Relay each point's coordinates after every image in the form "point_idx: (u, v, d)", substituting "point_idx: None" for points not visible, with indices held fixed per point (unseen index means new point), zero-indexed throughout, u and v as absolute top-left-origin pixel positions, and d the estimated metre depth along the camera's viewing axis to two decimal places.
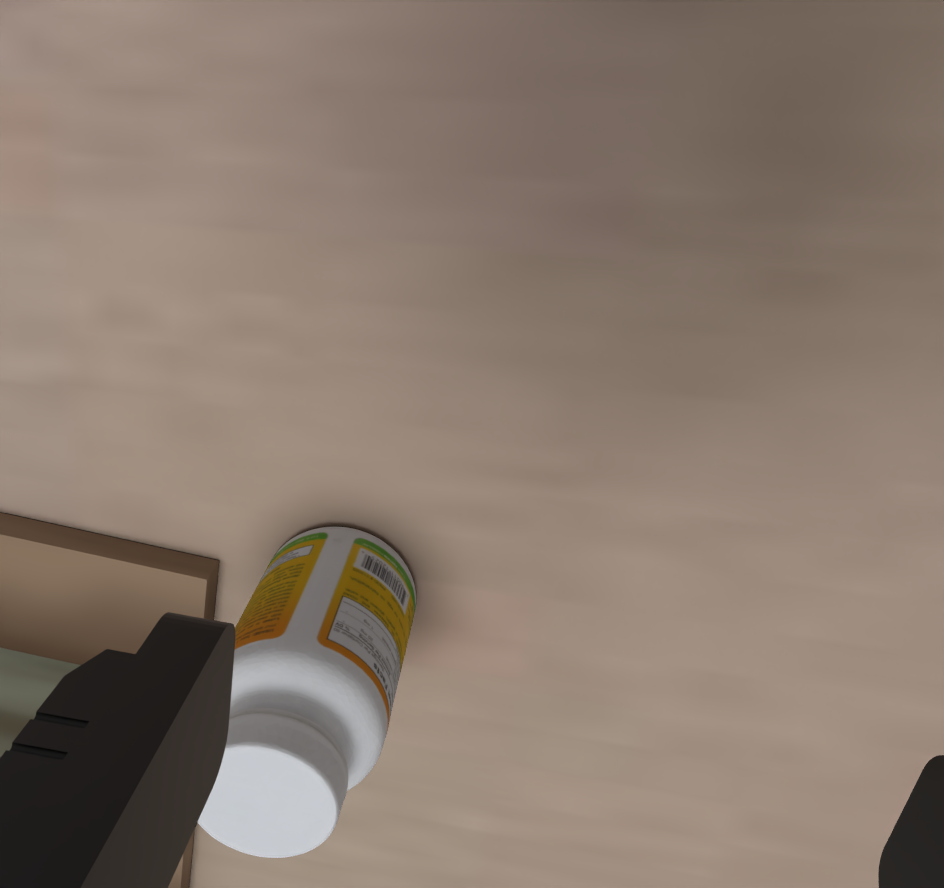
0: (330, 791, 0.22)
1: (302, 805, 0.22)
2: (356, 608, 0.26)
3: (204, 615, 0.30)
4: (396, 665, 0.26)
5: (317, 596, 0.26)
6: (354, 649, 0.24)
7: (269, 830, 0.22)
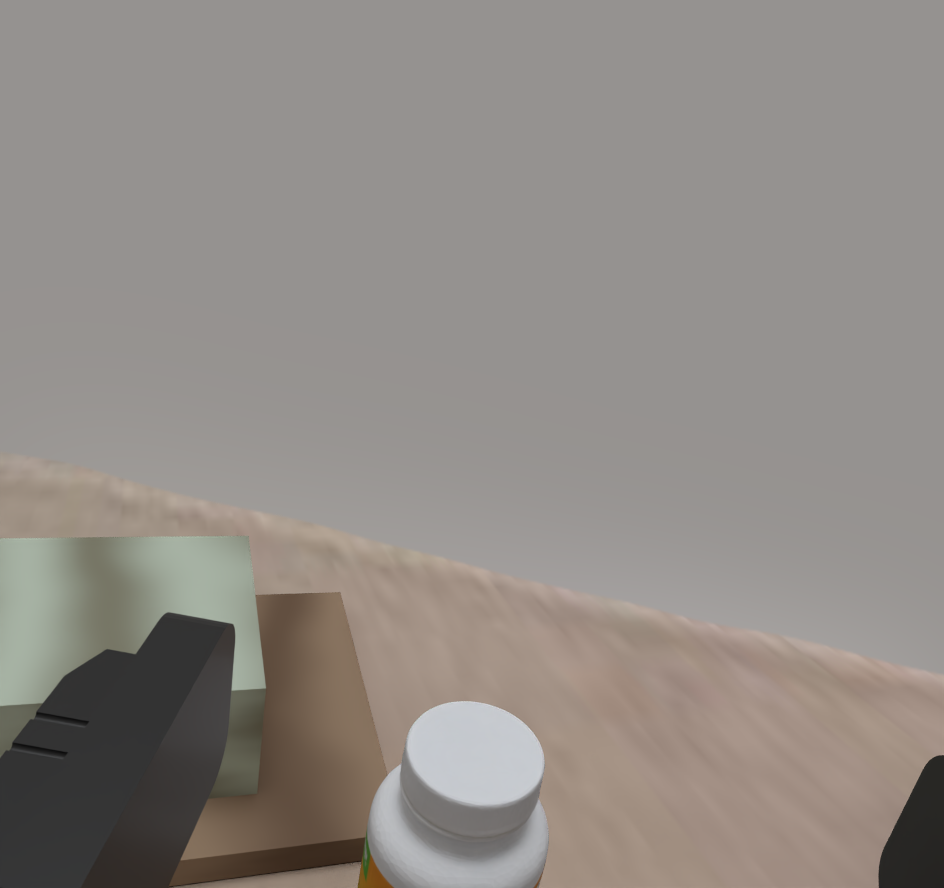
0: (527, 793, 0.23)
1: (497, 777, 0.23)
2: None
3: (358, 839, 0.31)
4: None
5: None
6: None
7: (450, 760, 0.24)
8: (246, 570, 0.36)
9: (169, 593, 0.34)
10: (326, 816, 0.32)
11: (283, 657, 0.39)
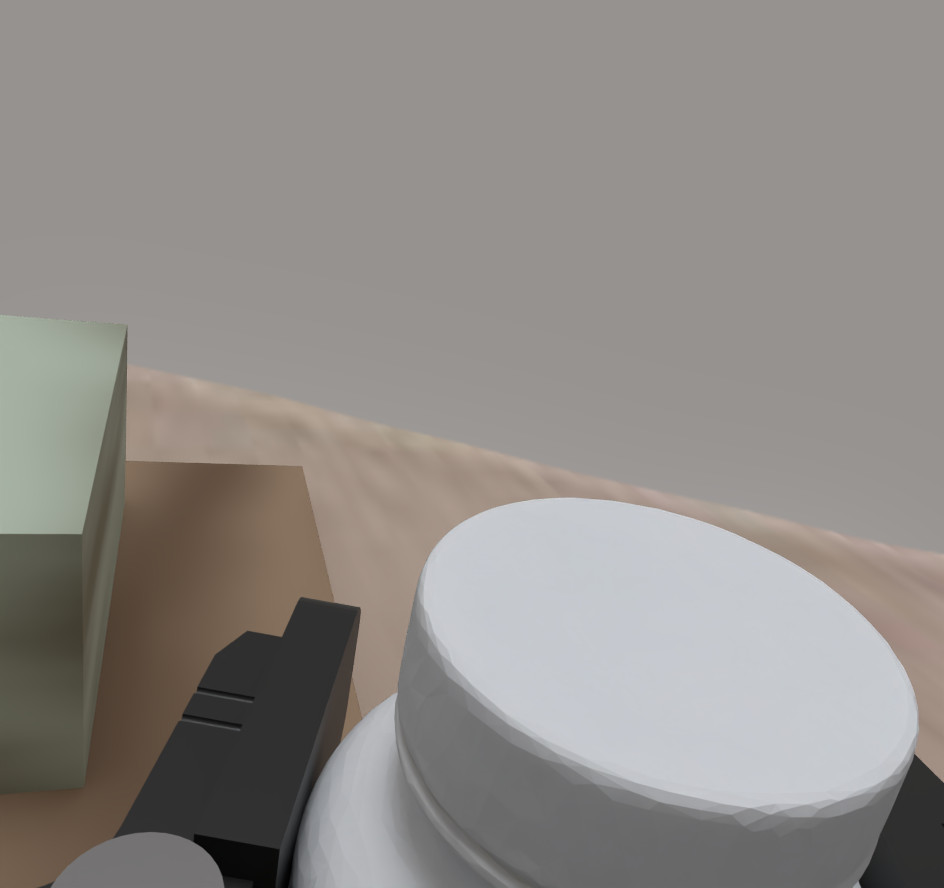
0: (902, 761, 0.06)
1: (767, 698, 0.06)
2: None
3: None
4: None
5: None
6: None
7: (581, 641, 0.06)
8: (105, 362, 0.19)
9: None
10: None
11: (190, 548, 0.22)
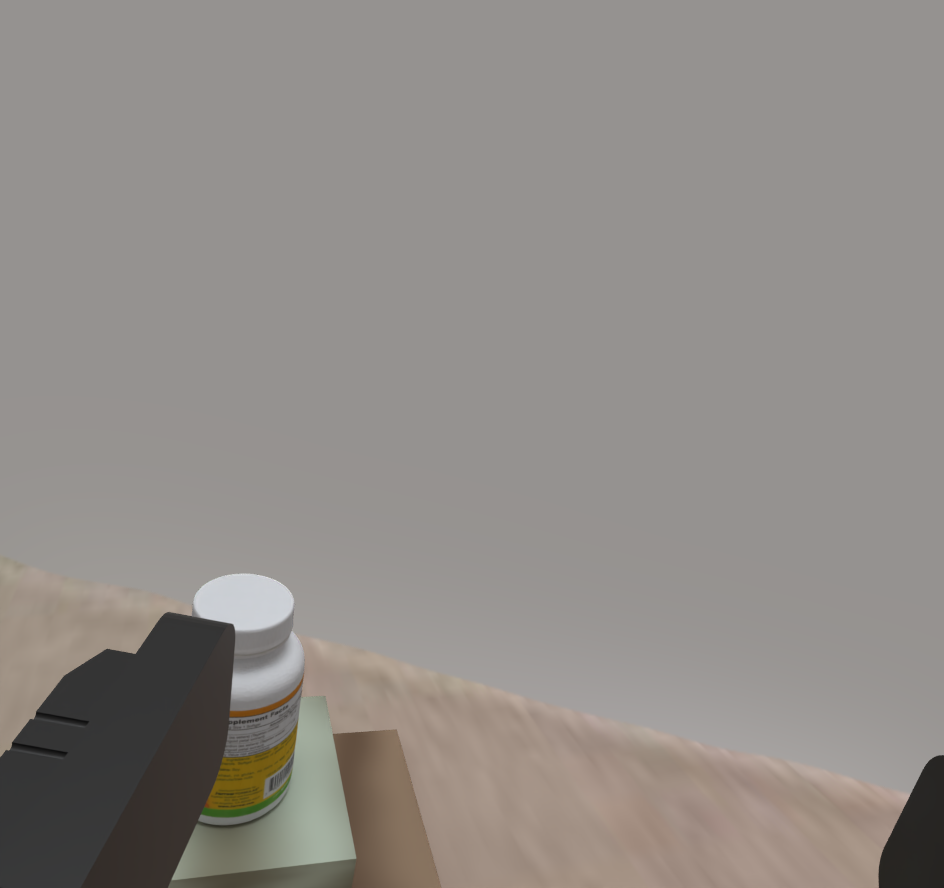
0: (272, 625, 0.34)
1: (253, 615, 0.34)
2: (297, 718, 0.37)
3: None
4: (261, 743, 0.35)
5: None
6: (298, 692, 0.36)
7: (222, 605, 0.34)
8: (327, 734, 0.42)
9: None
10: None
11: (353, 800, 0.45)
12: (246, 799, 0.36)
